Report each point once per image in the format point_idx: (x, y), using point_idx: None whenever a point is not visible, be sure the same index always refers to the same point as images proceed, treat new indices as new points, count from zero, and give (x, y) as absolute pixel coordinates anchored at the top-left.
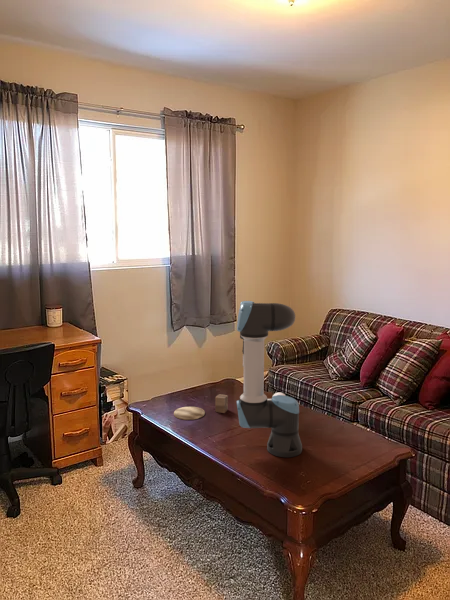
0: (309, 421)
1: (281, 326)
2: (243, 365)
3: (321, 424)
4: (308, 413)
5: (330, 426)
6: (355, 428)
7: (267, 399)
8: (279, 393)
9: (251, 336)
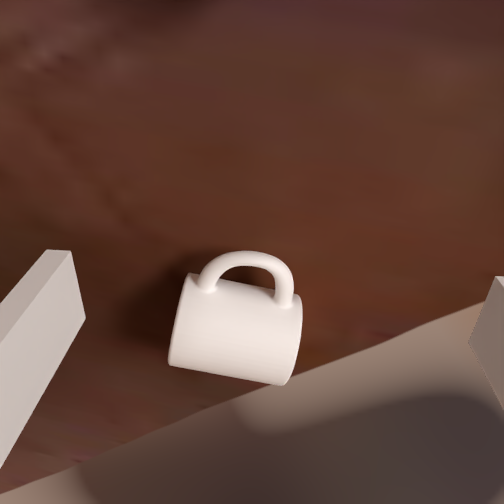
0: (84, 377)
1: None
2: (501, 299)
3: (56, 404)
4: (178, 395)
5: (40, 423)
6: (35, 475)
7: (278, 280)
8: (266, 369)
9: None
